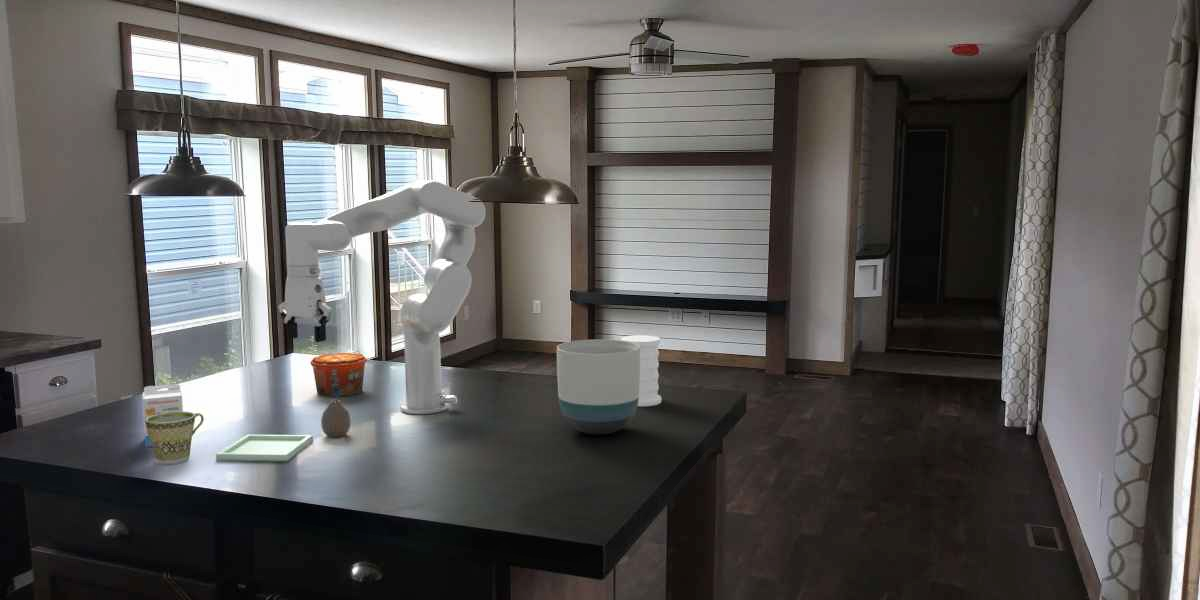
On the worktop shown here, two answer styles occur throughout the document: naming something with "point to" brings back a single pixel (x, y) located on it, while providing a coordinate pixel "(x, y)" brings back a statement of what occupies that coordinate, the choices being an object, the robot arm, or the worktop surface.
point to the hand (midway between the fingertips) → (306, 339)
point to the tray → (264, 448)
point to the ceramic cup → (172, 436)
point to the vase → (335, 420)
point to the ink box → (160, 403)
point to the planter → (598, 384)
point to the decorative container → (647, 368)
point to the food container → (339, 374)
